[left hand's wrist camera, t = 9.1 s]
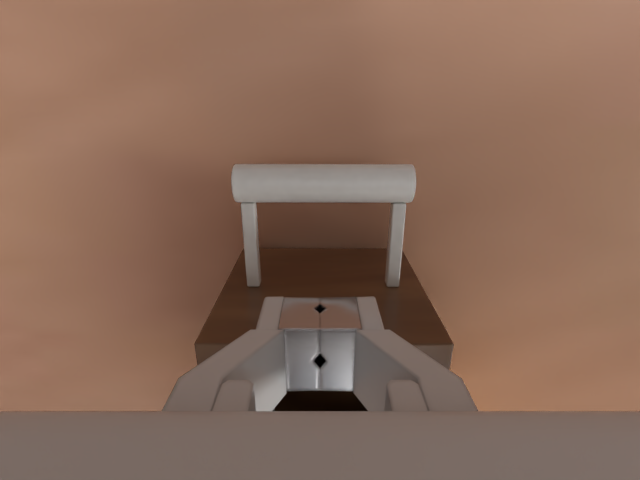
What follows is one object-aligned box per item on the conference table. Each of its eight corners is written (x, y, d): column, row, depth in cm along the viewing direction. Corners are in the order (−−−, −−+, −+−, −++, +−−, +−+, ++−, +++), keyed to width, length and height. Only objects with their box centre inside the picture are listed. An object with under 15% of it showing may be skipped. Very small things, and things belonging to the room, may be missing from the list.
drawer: (235, 150, 20) (170, 188, 11) (410, 150, 20) (479, 189, 11) (260, 464, 28) (235, 622, 20) (382, 464, 28) (409, 622, 20)
